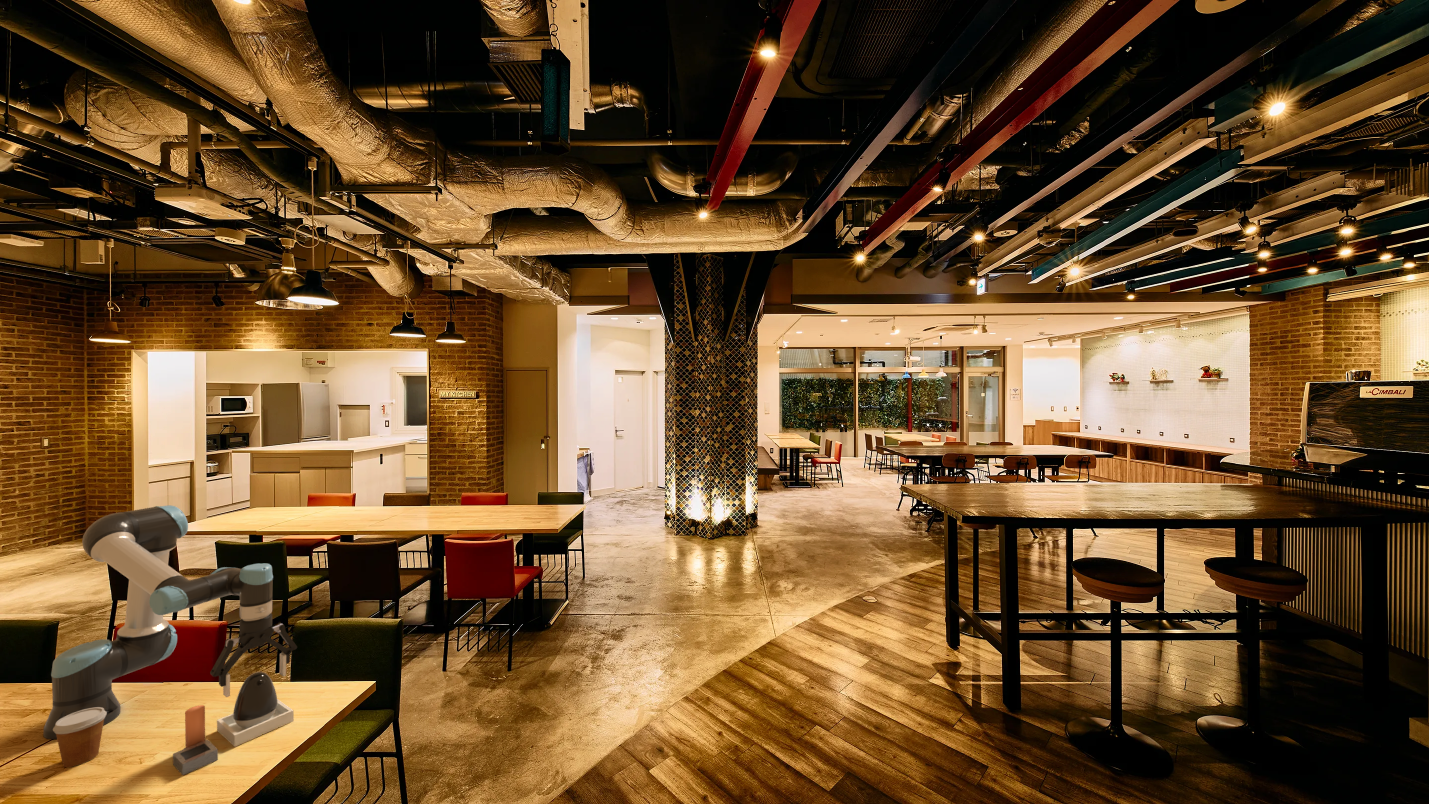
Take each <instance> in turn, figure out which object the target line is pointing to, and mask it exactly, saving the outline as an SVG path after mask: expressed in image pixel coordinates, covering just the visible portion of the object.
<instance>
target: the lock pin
mask: <svg viewBox="0 0 1429 804" xmlns="http://www.w3.org/2000/svg"><path fill="white" fill-rule="evenodd" d="M184 721H185V722H184V723H185V726H184V728H185V729H184V731H185V732H184V733H185V737H184V739H185V747H186V748H188V747H190V746H193V745H195V744H198V743H200V742H202V741H205V740H206V706H205V705H203V704H199V705H195V706H191V707H190V708H189V709H186V710H185V712H184Z"/></svg>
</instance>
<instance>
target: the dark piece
mask: <svg viewBox="0 0 1429 804" xmlns="http://www.w3.org/2000/svg"><path fill="white" fill-rule="evenodd" d="M243 681H244V682H243V684H242V685H241V687H240V689H239V692H238V693H237V696H236V700H235V703H234V708H233V713H232V714H233V719H234V720H235V722H236V724H237V725H238V726H240V727H243V728H250V727H252V726H255V725H257V724H259V723H262V722H264V721H266V720H269V719H270V718H271V717H272V715H273V714H274V712H275V709H276V707H277V699H278V696H277V691H276V688H275V685H274V682H273V680H272V679H271V677H270V676H269V675H268V674H267V673H266V672H263V671H256V672H253V673H251V674H249V676H248V677H246V679H245V680H243Z"/></svg>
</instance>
